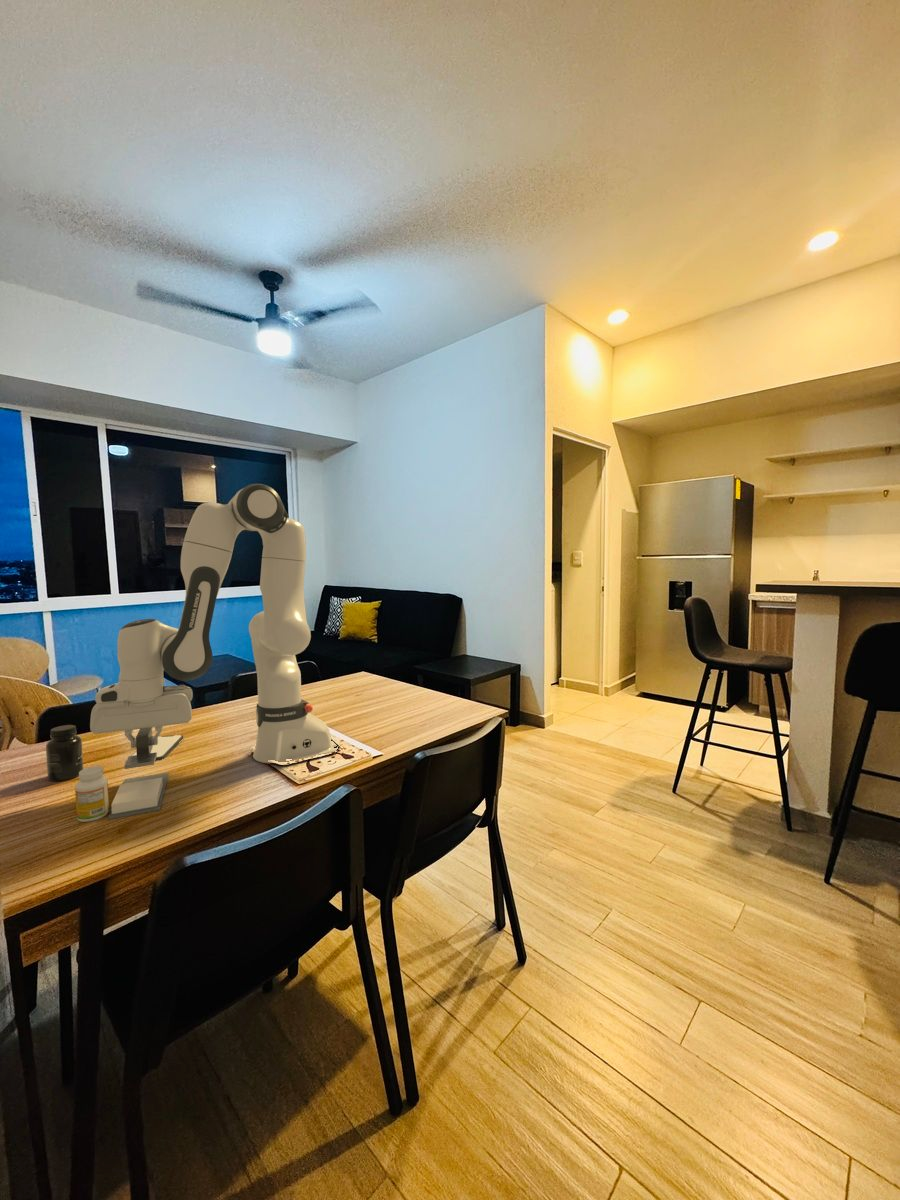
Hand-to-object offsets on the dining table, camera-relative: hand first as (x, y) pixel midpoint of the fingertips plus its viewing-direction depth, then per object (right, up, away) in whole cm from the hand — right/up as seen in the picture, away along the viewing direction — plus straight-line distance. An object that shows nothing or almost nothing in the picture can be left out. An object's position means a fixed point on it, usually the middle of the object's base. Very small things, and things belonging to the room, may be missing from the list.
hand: (144, 745), depth 114 cm
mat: (+3, -9, -6) cm, 11 cm away
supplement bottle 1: (-21, -9, +3) cm, 23 cm away
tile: (+3, -7, -5) cm, 9 cm away
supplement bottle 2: (-1, -10, -15) cm, 18 cm away
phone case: (-9, -8, +20) cm, 23 cm away
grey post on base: (+1, -2, -2) cm, 3 cm away
